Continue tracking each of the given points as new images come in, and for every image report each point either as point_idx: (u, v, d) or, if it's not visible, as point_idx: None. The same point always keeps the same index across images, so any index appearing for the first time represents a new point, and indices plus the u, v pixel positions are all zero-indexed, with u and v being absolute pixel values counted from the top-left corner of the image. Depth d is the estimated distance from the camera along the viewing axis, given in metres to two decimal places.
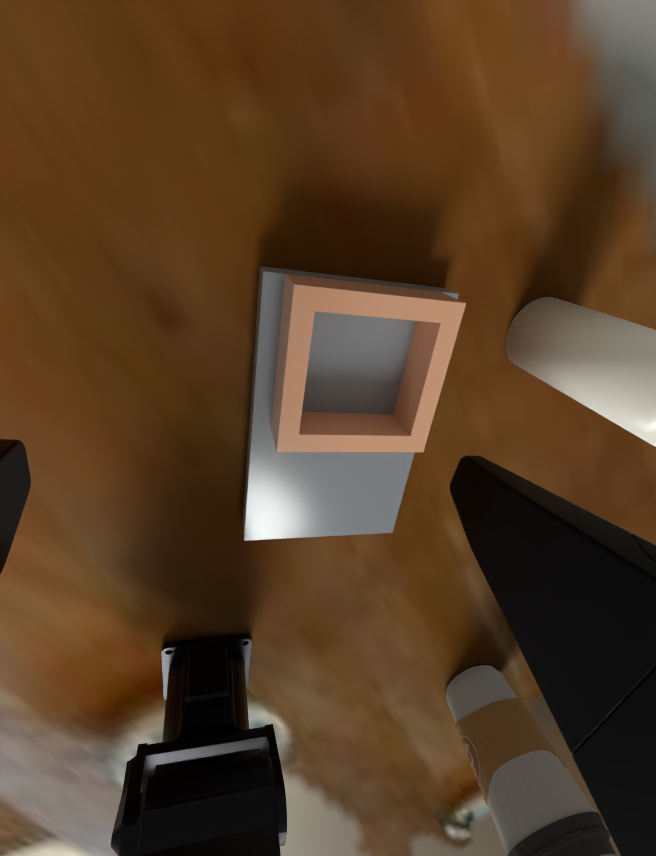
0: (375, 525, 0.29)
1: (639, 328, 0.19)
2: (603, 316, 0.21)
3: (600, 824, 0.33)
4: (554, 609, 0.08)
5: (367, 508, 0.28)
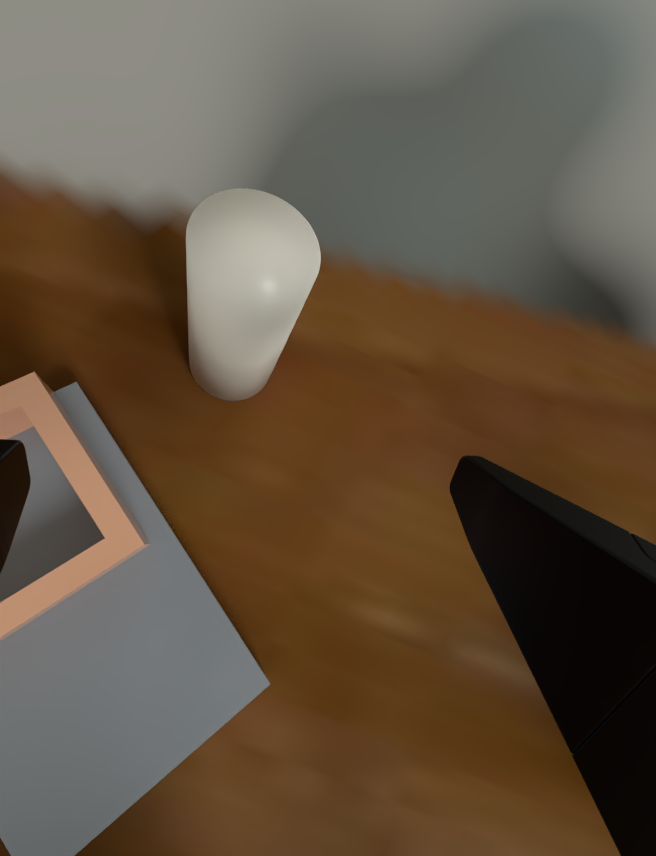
0: (234, 693, 0.18)
1: None
2: None
3: None
4: (554, 609, 0.08)
5: (197, 678, 0.18)
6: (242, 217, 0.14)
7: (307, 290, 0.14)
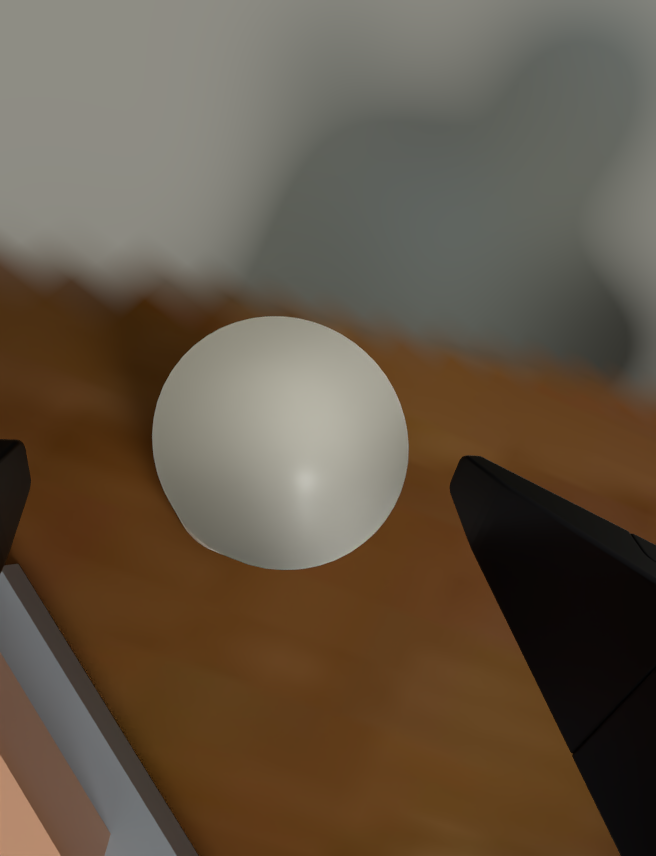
0: None
1: None
2: None
3: None
4: (554, 609, 0.08)
5: None
6: (264, 376, 0.07)
7: (387, 512, 0.07)
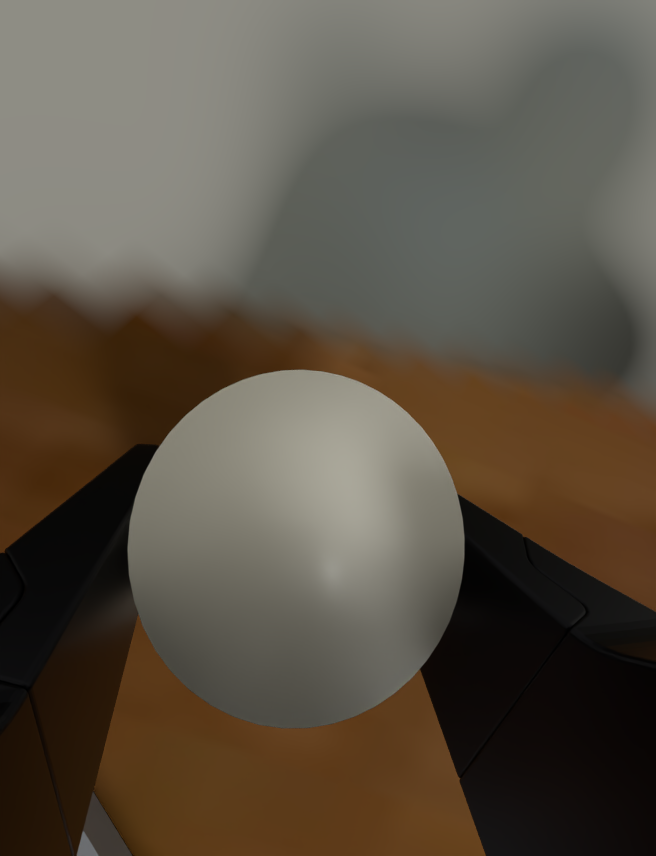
0: None
1: None
2: None
3: None
4: None
5: None
6: (279, 453, 0.06)
7: (440, 630, 0.06)
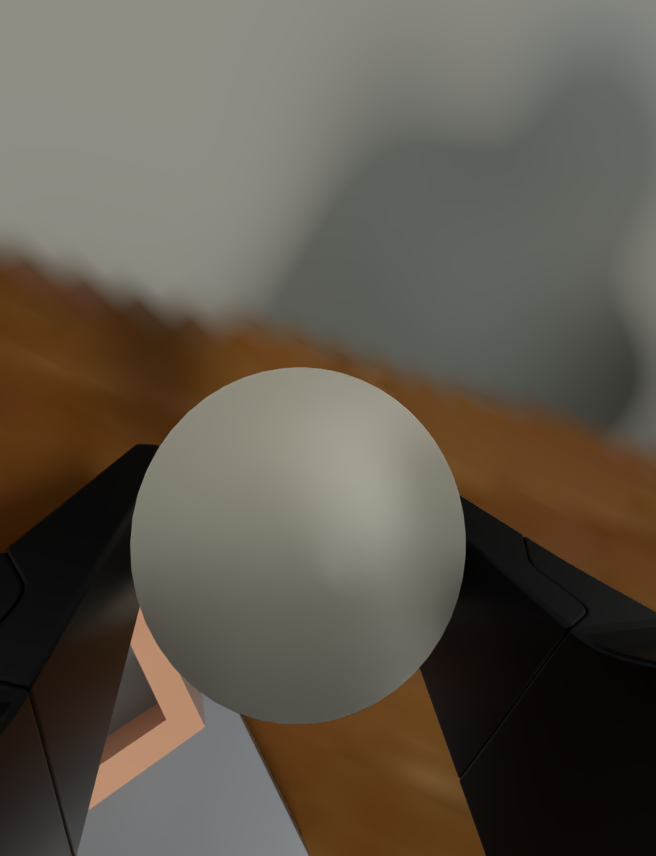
0: None
1: None
2: None
3: None
4: None
5: None
6: (281, 450, 0.06)
7: (441, 627, 0.06)
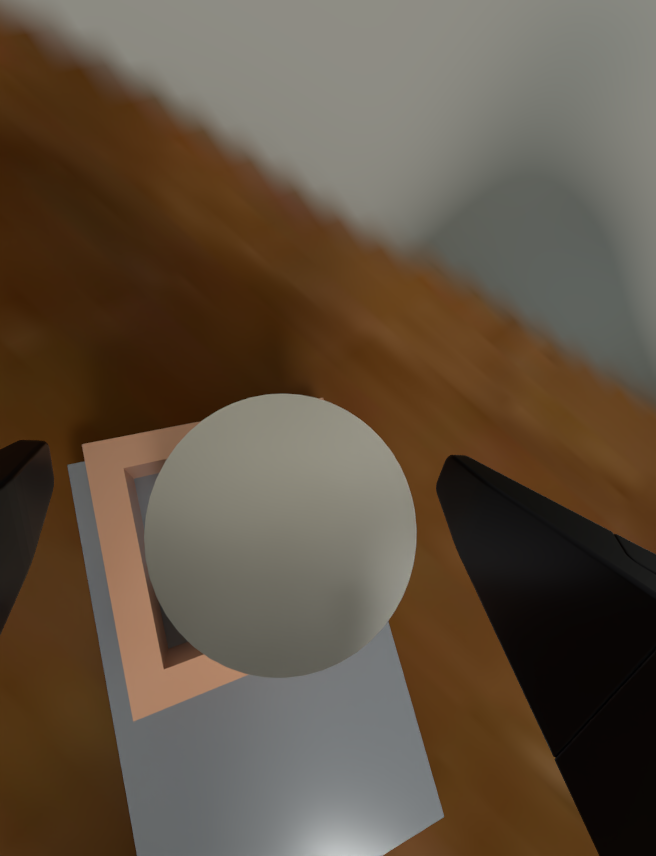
0: (406, 815, 0.16)
1: None
2: None
3: None
4: (537, 611, 0.07)
5: (374, 782, 0.15)
6: (264, 461, 0.07)
7: (395, 604, 0.07)
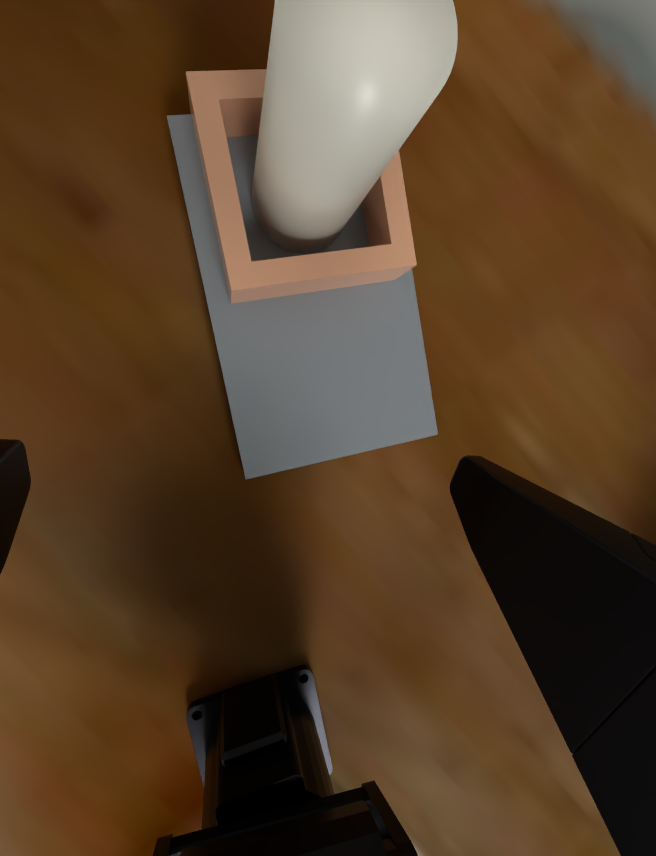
0: (411, 426, 0.22)
1: None
2: None
3: None
4: (554, 609, 0.08)
5: (390, 401, 0.21)
6: None
7: (433, 98, 0.10)
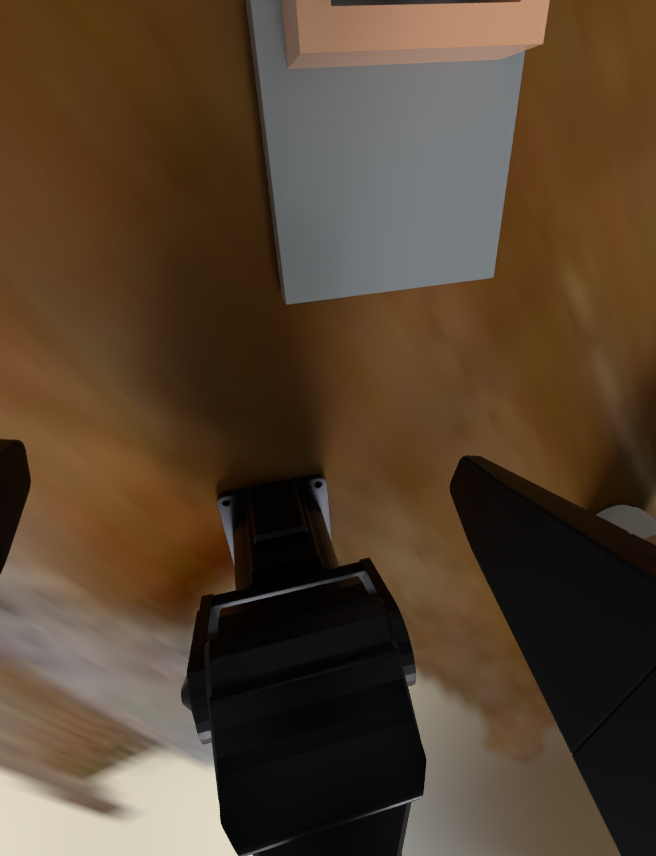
0: (468, 265, 0.20)
1: None
2: None
3: None
4: (554, 609, 0.08)
5: (453, 232, 0.19)
6: None
7: None
